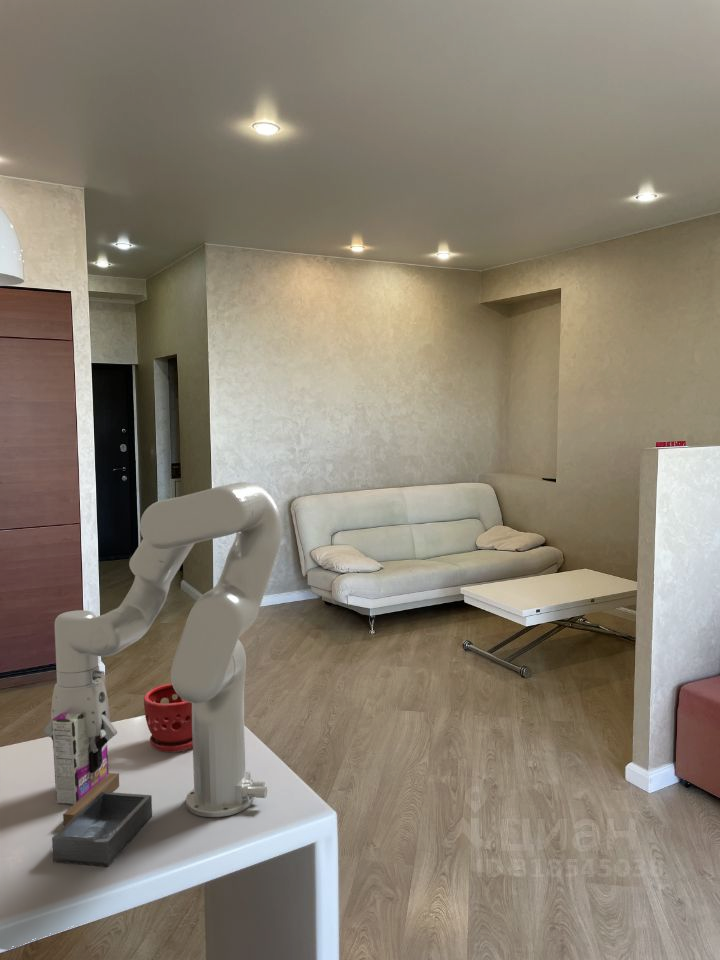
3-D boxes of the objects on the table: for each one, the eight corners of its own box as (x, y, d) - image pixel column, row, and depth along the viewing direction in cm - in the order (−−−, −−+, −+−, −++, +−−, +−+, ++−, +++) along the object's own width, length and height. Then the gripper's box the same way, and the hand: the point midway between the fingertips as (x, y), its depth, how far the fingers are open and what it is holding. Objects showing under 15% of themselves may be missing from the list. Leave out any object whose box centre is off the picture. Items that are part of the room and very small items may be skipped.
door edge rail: (119, 785, 145) (118, 773, 145) (74, 828, 130) (73, 815, 129) (109, 785, 146) (109, 772, 146) (63, 828, 130) (63, 814, 130)
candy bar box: (87, 777, 149) (84, 697, 148) (109, 779, 148) (106, 698, 147) (53, 804, 138) (50, 718, 137) (77, 806, 137) (74, 720, 136)
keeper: (152, 816, 133) (151, 795, 133) (108, 866, 118) (107, 842, 118) (102, 813, 135) (102, 791, 135) (53, 861, 120) (52, 837, 119)
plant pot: (144, 737, 169) (143, 685, 168) (203, 729, 173) (202, 679, 172) (146, 761, 156) (144, 705, 156) (209, 752, 160) (207, 698, 159)
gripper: (128, 671, 144) (132, 763, 145) (49, 668, 147) (53, 757, 148) (109, 684, 137) (113, 780, 138) (25, 681, 140) (30, 774, 141)
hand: (81, 767), depth 143 cm, fingers closed on candy bar box, 5 cm apart
